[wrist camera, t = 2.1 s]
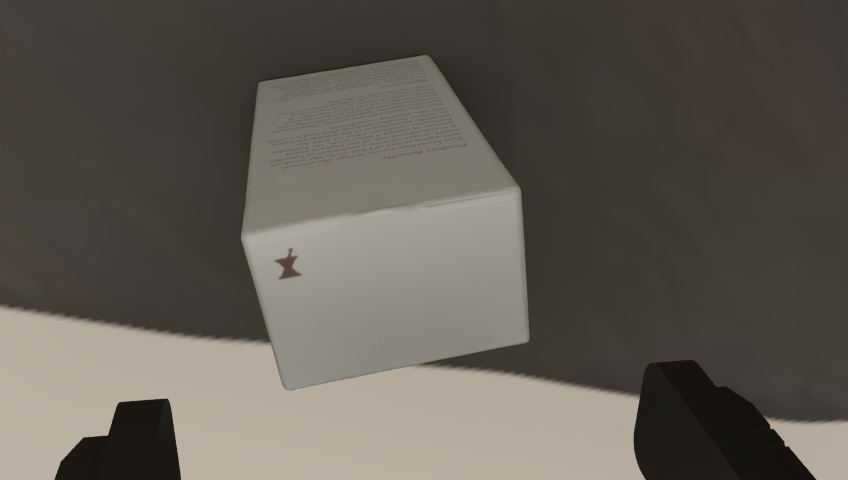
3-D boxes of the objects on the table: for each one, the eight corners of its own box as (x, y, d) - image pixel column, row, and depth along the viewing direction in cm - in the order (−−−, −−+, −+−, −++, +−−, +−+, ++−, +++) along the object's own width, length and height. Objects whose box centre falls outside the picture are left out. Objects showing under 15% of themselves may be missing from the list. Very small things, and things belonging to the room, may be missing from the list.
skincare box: (282, 194, 29) (275, 398, 18) (256, 78, 27) (231, 231, 16) (447, 166, 29) (535, 348, 19) (433, 50, 27) (523, 181, 17)
